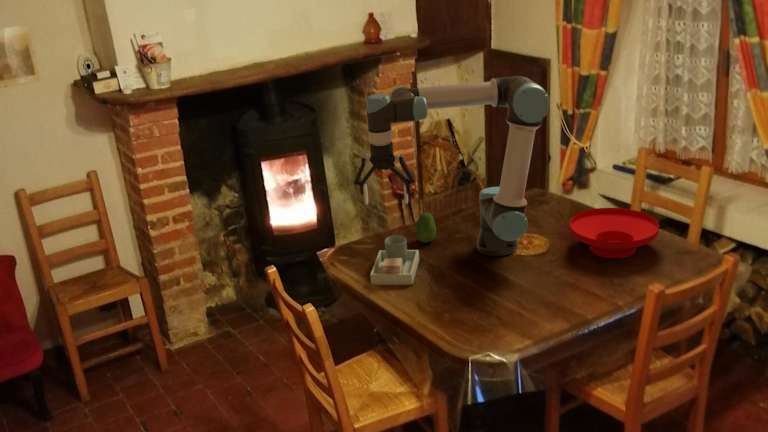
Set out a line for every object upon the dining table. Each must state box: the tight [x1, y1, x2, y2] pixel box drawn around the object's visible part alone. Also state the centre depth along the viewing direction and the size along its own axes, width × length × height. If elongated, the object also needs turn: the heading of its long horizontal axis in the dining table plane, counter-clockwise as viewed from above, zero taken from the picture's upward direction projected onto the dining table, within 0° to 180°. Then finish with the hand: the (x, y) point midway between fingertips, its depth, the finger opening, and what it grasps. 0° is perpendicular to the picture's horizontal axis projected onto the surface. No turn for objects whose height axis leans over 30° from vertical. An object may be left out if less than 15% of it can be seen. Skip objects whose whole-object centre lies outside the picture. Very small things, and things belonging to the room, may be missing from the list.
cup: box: [384, 235, 408, 266], centre depth 291 cm, size 8×8×10 cm
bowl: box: [568, 207, 660, 259], centre depth 291 cm, size 30×30×10 cm
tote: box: [369, 249, 420, 286], centre depth 290 cm, size 14×19×4 cm
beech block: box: [382, 258, 403, 274], centre depth 284 cm, size 6×6×6 cm
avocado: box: [414, 212, 437, 244], centre depth 310 cm, size 8×8×12 cm
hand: (386, 203), depth 274 cm, fingers open, 13 cm apart
